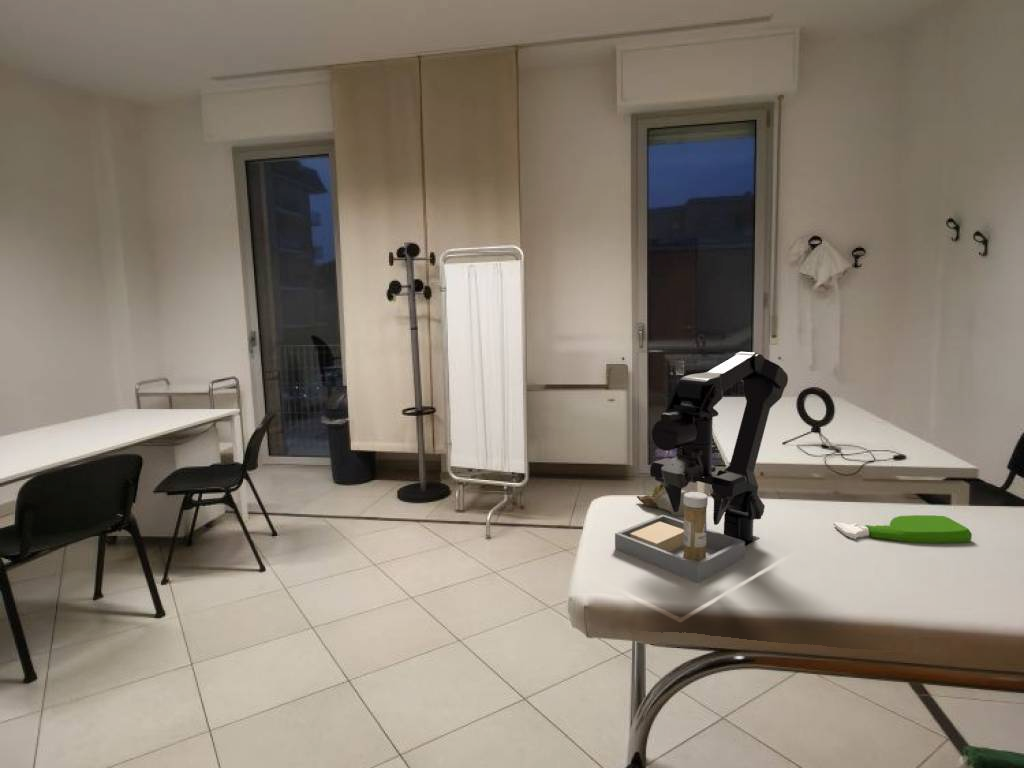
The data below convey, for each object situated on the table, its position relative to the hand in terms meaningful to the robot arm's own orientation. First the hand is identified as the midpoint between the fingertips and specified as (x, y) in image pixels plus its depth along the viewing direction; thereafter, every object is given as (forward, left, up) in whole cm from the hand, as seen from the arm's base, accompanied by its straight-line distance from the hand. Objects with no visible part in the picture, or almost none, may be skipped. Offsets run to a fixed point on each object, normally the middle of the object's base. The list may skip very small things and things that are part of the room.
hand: (695, 517), depth 115 cm
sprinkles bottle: (0, 0, -9) cm, 9 cm away
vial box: (0, -9, -9) cm, 13 cm away
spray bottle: (-45, +21, -10) cm, 50 cm away
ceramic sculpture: (-20, -21, -10) cm, 31 cm away
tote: (0, -4, -9) cm, 10 cm away
